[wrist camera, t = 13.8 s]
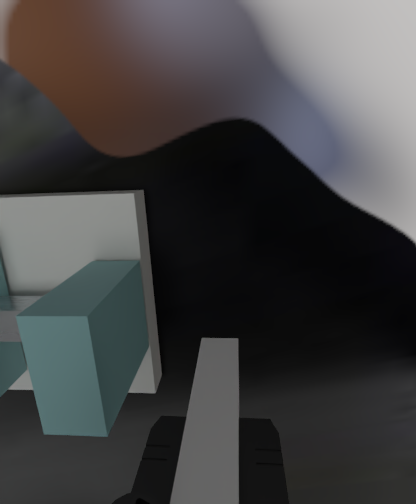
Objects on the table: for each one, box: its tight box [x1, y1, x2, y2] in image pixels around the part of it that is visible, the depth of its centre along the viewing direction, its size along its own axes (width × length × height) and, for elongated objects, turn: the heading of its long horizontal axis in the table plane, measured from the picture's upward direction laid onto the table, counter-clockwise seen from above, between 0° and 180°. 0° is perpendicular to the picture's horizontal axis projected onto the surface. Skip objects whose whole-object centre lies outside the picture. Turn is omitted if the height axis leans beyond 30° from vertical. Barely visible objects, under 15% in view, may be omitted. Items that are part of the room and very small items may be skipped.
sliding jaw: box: [0, 260, 149, 437], centre depth 17 cm, size 12×10×7 cm
